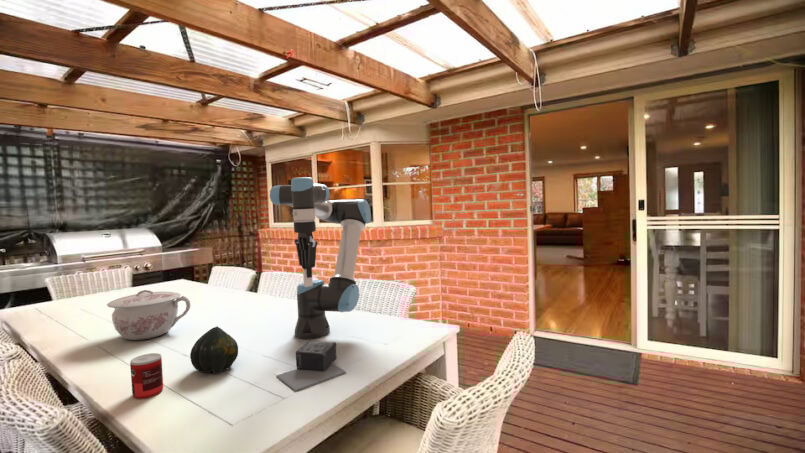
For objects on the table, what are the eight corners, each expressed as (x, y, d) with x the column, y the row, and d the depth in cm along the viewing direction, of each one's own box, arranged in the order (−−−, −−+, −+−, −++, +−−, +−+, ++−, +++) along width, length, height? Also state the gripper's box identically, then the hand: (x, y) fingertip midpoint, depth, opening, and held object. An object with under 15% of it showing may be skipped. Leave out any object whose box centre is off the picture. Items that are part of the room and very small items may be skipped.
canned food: (142, 388, 117) (139, 353, 116) (168, 386, 118) (166, 352, 117) (126, 400, 109) (123, 363, 109) (154, 398, 110) (152, 362, 109)
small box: (295, 370, 126) (324, 372, 123) (294, 351, 125) (323, 353, 123) (310, 357, 136) (337, 359, 134) (309, 340, 136) (336, 341, 133)
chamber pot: (94, 342, 161) (91, 295, 160) (157, 323, 186) (154, 282, 185) (137, 349, 150) (133, 299, 149) (197, 328, 176) (194, 285, 175)
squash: (198, 368, 117) (225, 324, 125) (173, 361, 125) (200, 320, 133) (231, 384, 126) (254, 342, 134) (206, 376, 134) (229, 337, 142)
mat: (276, 376, 122) (276, 375, 122) (325, 360, 134) (325, 359, 134) (295, 391, 112) (295, 390, 112) (346, 373, 123) (346, 371, 123)
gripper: (286, 221, 135) (290, 285, 137) (303, 222, 125) (307, 291, 127) (305, 219, 140) (309, 281, 142) (323, 220, 130) (326, 286, 132)
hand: (308, 286), depth 134 cm, fingers closed
